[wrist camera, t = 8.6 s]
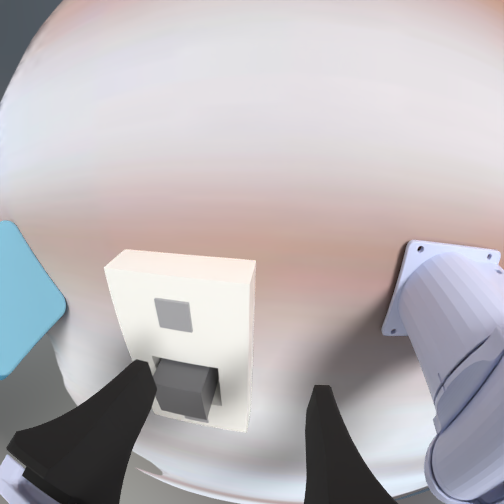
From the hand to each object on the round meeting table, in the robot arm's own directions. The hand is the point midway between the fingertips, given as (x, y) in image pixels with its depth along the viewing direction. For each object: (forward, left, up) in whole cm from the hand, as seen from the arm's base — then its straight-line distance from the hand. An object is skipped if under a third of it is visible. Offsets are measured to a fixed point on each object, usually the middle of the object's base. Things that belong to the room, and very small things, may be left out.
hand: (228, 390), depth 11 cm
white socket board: (+5, +8, -9) cm, 13 cm away
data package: (+24, +2, -10) cm, 26 cm away
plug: (+5, +9, -10) cm, 14 cm away
